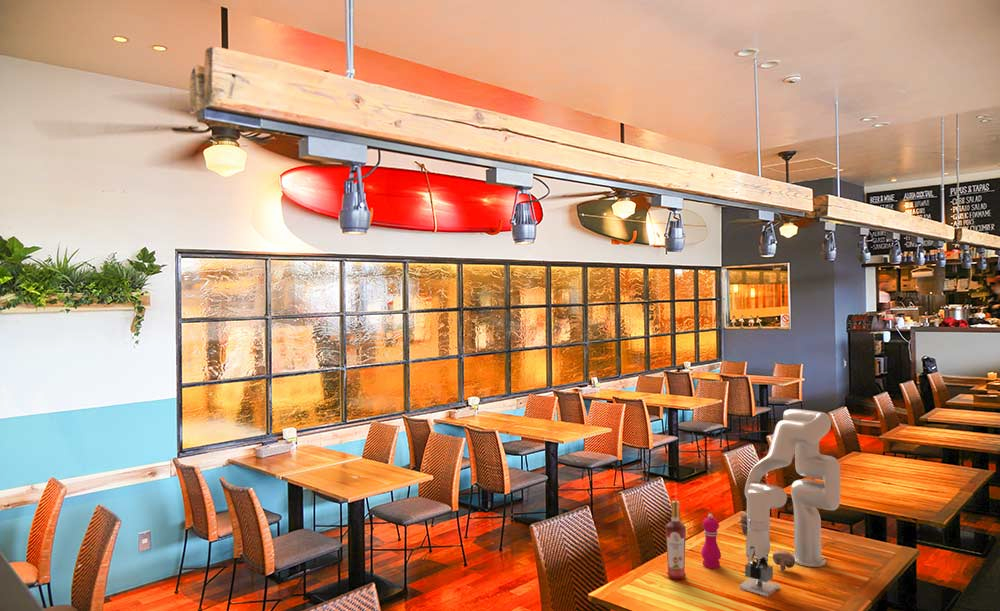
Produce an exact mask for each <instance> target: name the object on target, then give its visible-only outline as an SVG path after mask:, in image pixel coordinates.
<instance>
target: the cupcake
mask: <svg viewBox="0 0 1000 611" xmlns="http://www.w3.org/2000/svg"><path fill="white" fill-rule="evenodd" d="M740 525H741V530H742V534H743V533H744V534H743V535H745V534H746V535H745V536H747V530H748V528H747V509H745V510H744V513H743V514H741V516H740Z"/></svg>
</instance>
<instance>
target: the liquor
mask: <svg viewBox="0 0 1000 611" xmlns="http://www.w3.org/2000/svg"><path fill="white" fill-rule="evenodd" d="M670 504H671V509H672V510H671V521H669V522H668V523H666V524H665V541H666V542H665V543H666V554H667V571H666V575H667V576H668V577H669V578H670V579H671V578H672V580H675V581H679V580H682V579H684V578H685V577H686V576H687V573H686V572H685V570H686V569H685V567H686V566H685V562H686V557H685V556H686V534H687V533H686V530H687V529H686V528H687V527H686V525H684V524H683V523H682V522H680V513H679V509H680V501H678V500H671V503H670Z"/></svg>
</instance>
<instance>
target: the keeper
mask: <svg viewBox="0 0 1000 611" xmlns="http://www.w3.org/2000/svg"><path fill="white" fill-rule="evenodd" d="M759 568H761V567H759ZM738 586H739V588H740V590H743V591H746V590H747V592H749V591H750V592H749V593H752V592H754V593H753V594H755V593H757V594H756V595H758V594H760V596H762V595H763V596H762V597H765V596H767V597H766V598H769V597H770V596H771V595H772V593H773V592H774V593H775V592H777V591H778V590H779V589H780V584H779V583H774V582H770V581H767V582H763V581H760V580H757V579H753V578H750V577H748V578H747V579H745V581H744V582H742V583H740V584H739V585H738ZM777 589H778V590H777ZM776 590H777V591H776ZM774 593H773V594H774ZM769 595H770V596H769ZM768 596H769V597H768Z"/></svg>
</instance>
